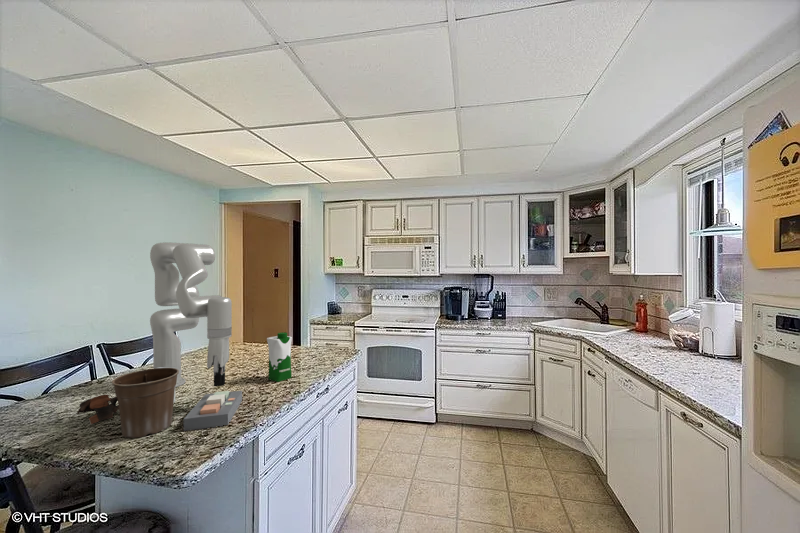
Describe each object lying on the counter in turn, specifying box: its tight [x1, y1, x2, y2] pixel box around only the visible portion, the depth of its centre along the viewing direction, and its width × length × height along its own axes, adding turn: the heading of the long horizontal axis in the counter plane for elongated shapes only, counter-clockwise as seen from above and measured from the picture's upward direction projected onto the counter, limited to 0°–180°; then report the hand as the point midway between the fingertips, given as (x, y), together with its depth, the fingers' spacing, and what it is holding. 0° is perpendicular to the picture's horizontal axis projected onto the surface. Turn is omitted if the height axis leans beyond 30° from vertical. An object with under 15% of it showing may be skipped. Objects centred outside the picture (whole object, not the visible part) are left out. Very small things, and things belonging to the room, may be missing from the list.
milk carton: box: [266, 331, 293, 383], centre depth 148 cm, size 9×9×20 cm
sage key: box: [214, 390, 230, 399], centre depth 118 cm, size 4×4×3 cm
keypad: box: [183, 390, 243, 431], centre depth 112 cm, size 21×12×4 cm, turn 14°
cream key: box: [206, 394, 225, 406], centre depth 112 cm, size 4×4×3 cm
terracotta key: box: [200, 404, 220, 415], centre depth 106 cm, size 4×4×3 cm
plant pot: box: [111, 367, 179, 439], centre depth 102 cm, size 16×16×16 cm
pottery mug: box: [76, 394, 119, 425], centre depth 112 cm, size 12×10×8 cm
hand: (219, 385), depth 118 cm, fingers closed
